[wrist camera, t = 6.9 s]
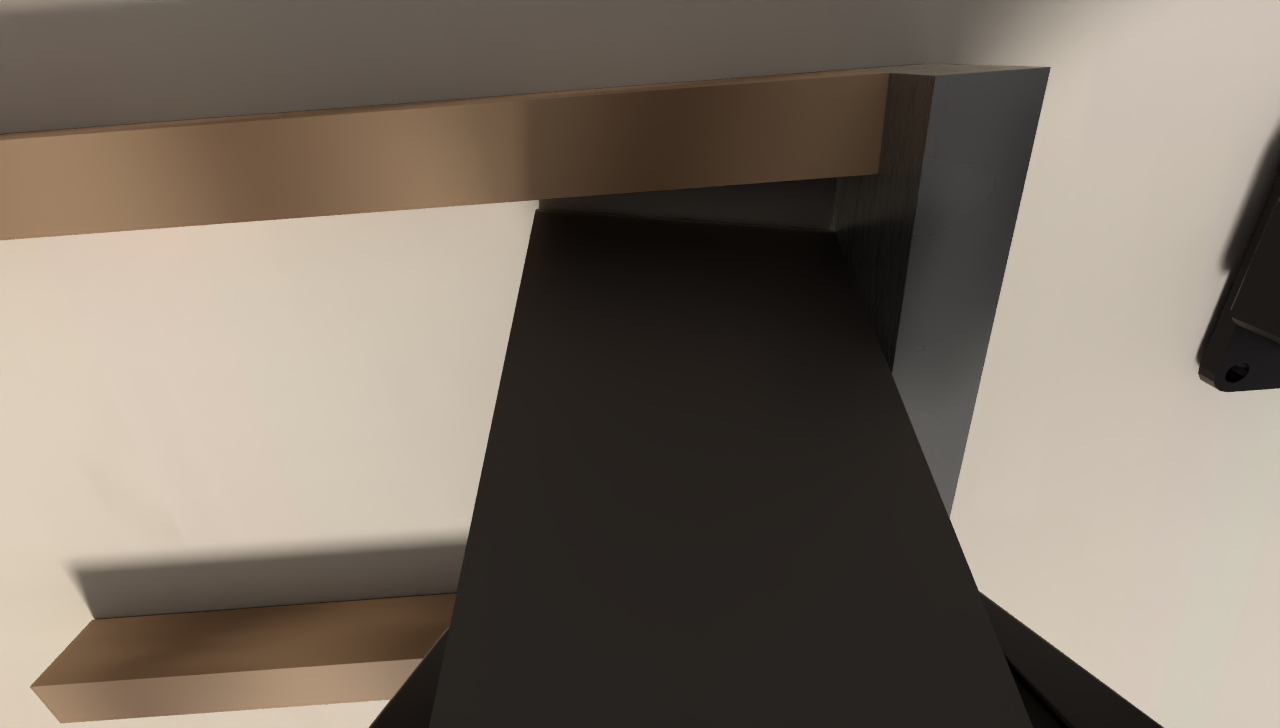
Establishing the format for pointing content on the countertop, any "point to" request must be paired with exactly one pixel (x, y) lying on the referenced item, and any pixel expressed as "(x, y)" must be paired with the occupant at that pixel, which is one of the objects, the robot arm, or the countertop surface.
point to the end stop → (940, 235)
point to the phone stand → (708, 502)
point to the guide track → (374, 182)
